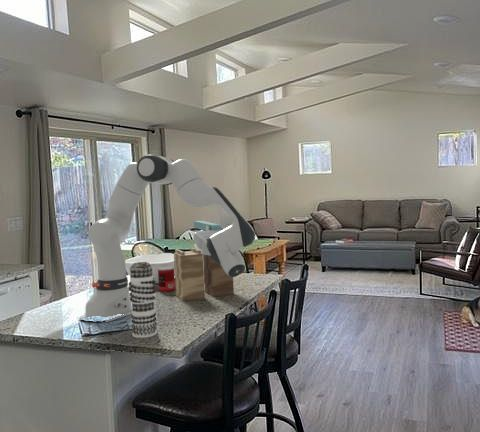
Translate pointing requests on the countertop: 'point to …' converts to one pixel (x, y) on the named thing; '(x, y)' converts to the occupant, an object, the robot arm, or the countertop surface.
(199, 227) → the teal block
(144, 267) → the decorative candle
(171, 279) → the canned food
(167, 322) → the countertop surface
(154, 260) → the baking dish
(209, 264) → the end cap post
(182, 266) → the tan wooden tall block
